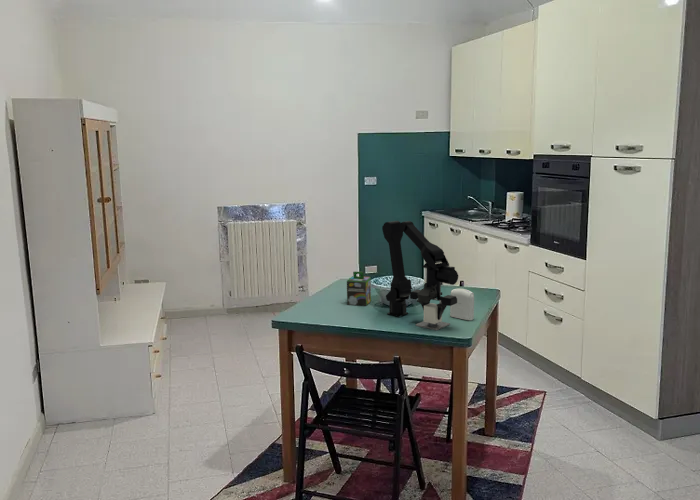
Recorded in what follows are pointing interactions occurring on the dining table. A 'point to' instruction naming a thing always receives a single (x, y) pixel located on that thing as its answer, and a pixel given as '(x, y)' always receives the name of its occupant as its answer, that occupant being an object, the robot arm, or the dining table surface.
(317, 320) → the dining table surface
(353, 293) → the chalk box
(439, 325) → the post
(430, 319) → the cream rectangular block
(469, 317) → the photo printer
